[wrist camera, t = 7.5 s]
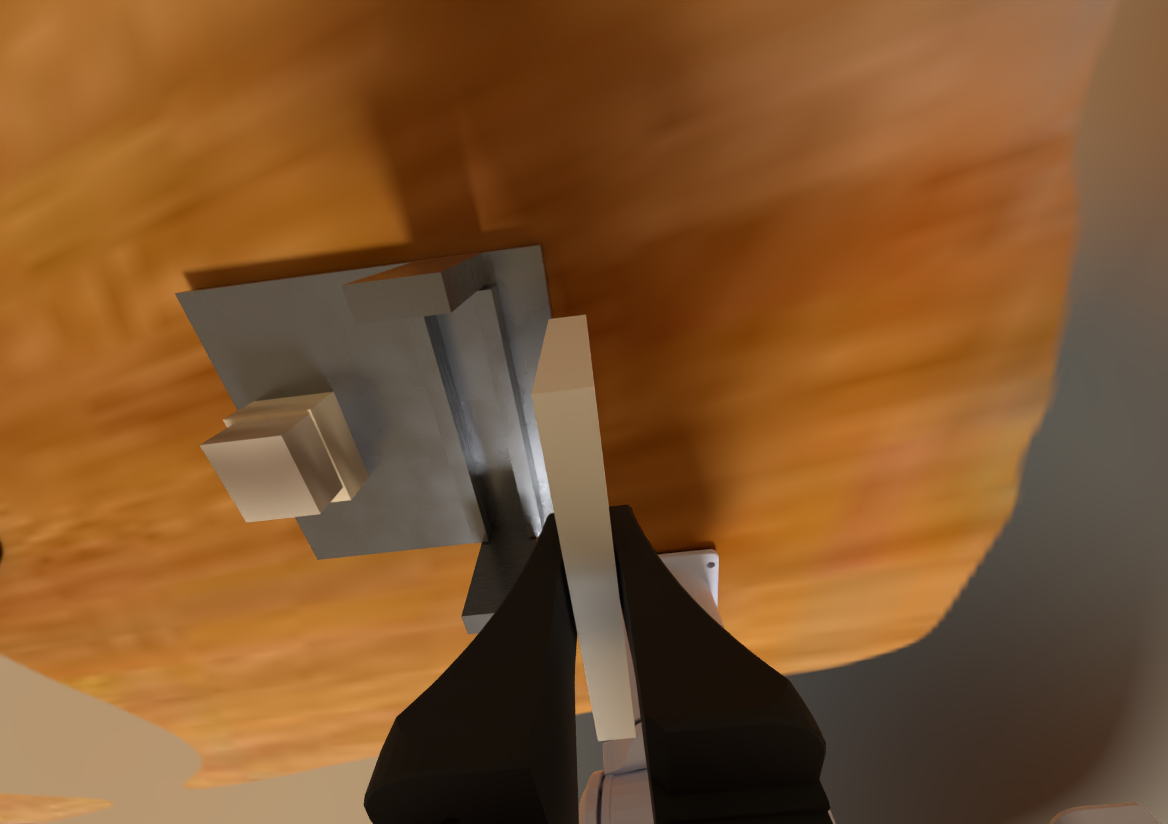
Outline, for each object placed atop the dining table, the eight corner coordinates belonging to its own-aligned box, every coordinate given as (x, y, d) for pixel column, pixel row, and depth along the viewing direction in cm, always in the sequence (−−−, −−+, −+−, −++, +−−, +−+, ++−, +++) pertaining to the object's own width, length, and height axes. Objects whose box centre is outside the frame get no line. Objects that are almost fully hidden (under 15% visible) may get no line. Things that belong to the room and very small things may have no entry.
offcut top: (343, 487, 20) (320, 514, 18) (275, 494, 20) (246, 522, 19) (309, 413, 19) (281, 435, 17) (235, 422, 19) (199, 445, 17)
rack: (584, 519, 25) (587, 622, 19) (326, 547, 26) (246, 656, 20) (541, 243, 18) (524, 260, 12) (193, 289, 19) (5, 328, 13)
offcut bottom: (368, 476, 22) (351, 500, 21) (296, 485, 23) (272, 508, 21) (333, 391, 20) (310, 409, 18) (253, 401, 20) (223, 419, 19)
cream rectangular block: (618, 583, 19) (635, 737, 13) (591, 586, 19) (598, 740, 13) (585, 314, 13) (594, 387, 8) (548, 319, 13) (531, 394, 8)
